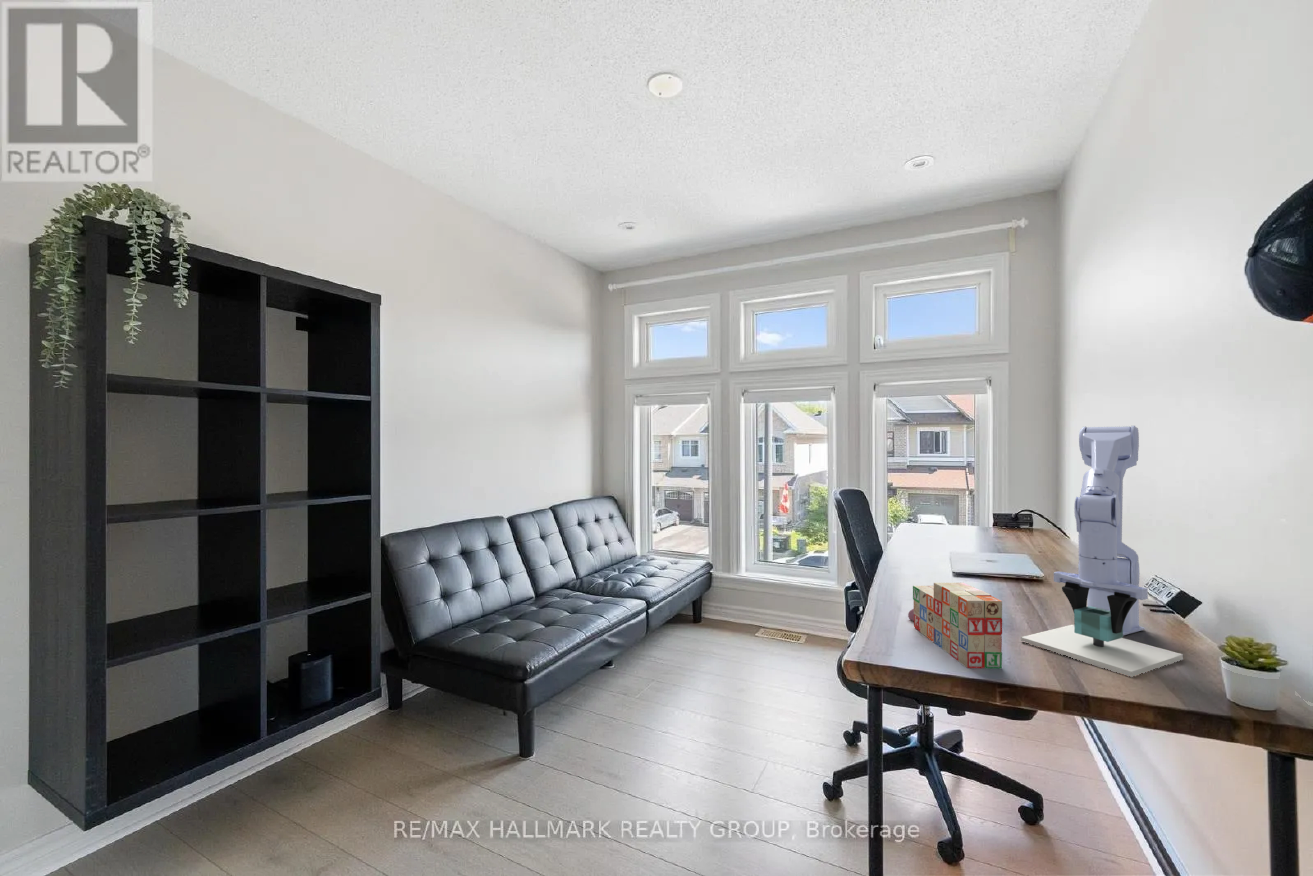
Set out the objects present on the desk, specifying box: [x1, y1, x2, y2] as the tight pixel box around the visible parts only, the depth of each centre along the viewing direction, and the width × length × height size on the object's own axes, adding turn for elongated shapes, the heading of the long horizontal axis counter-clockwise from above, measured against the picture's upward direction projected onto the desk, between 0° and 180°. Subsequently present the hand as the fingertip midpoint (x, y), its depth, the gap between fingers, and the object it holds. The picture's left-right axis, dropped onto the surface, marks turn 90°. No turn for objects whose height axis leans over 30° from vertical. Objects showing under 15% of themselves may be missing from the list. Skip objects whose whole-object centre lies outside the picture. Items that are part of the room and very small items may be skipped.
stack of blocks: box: [912, 582, 1003, 669], centre depth 104 cm, size 21×6×12 cm, turn 178°
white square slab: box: [1020, 624, 1184, 678], centre depth 102 cm, size 18×18×6 cm
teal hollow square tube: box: [1073, 605, 1124, 642], centre depth 102 cm, size 5×5×4 cm
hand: (1098, 627), depth 102 cm, fingers closed on teal hollow square tube, 5 cm apart
